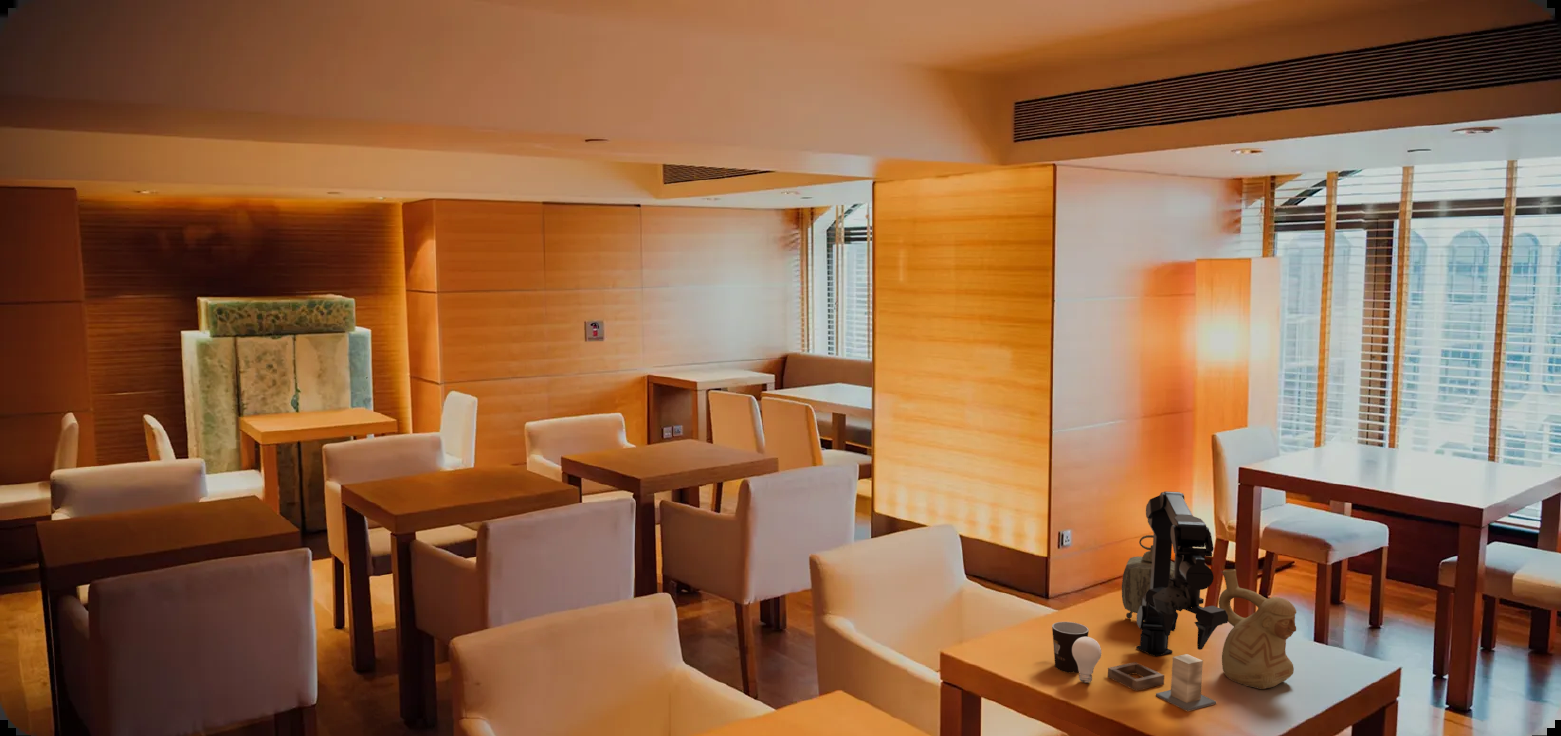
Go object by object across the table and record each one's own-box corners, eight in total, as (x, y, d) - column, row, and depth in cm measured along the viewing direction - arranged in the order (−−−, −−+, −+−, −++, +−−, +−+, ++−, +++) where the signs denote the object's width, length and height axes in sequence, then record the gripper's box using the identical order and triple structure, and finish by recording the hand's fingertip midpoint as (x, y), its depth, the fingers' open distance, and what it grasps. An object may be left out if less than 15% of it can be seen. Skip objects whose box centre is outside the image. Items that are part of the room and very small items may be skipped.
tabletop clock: (1177, 623, 282) (1182, 535, 279) (1175, 634, 274) (1180, 542, 271) (1122, 615, 288) (1126, 528, 285) (1119, 625, 279) (1123, 536, 277)
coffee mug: (1088, 675, 244) (1090, 635, 243) (1051, 672, 246) (1053, 632, 245) (1084, 657, 255) (1086, 619, 254) (1048, 654, 257) (1050, 616, 256)
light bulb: (1095, 690, 235) (1097, 644, 234) (1066, 684, 239) (1068, 638, 238) (1103, 681, 241) (1105, 636, 240) (1075, 674, 244) (1077, 630, 243)
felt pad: (1183, 688, 237) (1184, 686, 237) (1216, 703, 229) (1216, 701, 229) (1155, 695, 233) (1156, 693, 233) (1187, 711, 225) (1187, 708, 225)
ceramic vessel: (1270, 700, 232) (1277, 593, 229) (1194, 671, 248) (1200, 570, 246) (1313, 685, 240) (1320, 582, 238) (1237, 658, 257) (1243, 561, 255)
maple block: (1184, 691, 234) (1186, 653, 233) (1200, 699, 230) (1202, 660, 229) (1170, 695, 232) (1172, 656, 231) (1186, 702, 228) (1188, 663, 227)
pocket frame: (1134, 670, 248) (1135, 661, 247) (1163, 684, 240) (1164, 674, 240) (1107, 676, 244) (1108, 667, 243) (1136, 690, 236) (1136, 681, 236)
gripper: (1129, 568, 235) (1126, 634, 237) (1196, 592, 218) (1191, 662, 220) (1164, 562, 240) (1160, 626, 242) (1231, 585, 224) (1227, 654, 225)
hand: (1183, 642), depth 232 cm, fingers open, 9 cm apart
